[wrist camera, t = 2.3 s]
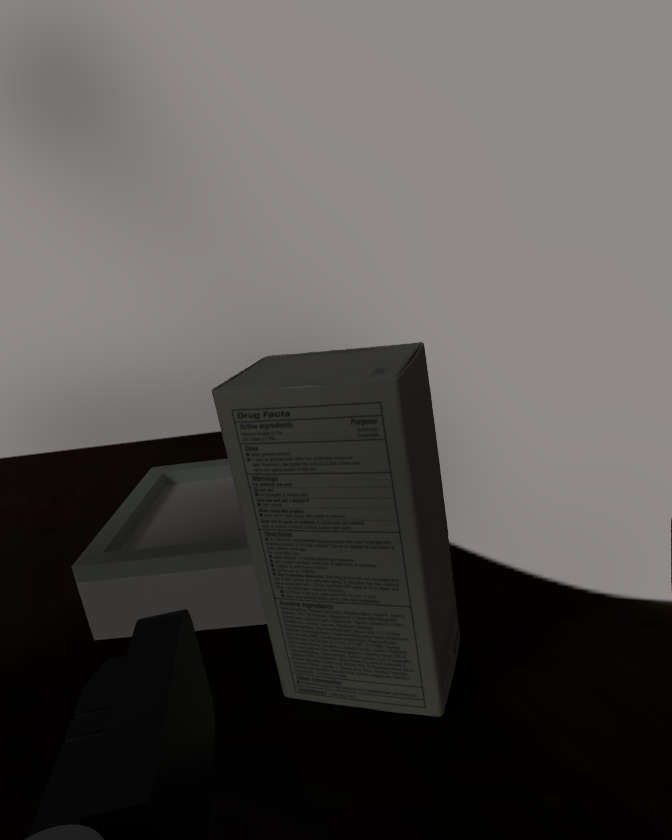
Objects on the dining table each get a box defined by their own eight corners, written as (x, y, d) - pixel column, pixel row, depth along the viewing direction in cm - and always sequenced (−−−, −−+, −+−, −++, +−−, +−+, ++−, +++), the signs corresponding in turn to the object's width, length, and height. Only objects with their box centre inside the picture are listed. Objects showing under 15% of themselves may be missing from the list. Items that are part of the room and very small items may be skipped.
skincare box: (462, 641, 25) (434, 339, 22) (443, 727, 21) (404, 376, 18) (315, 626, 27) (266, 351, 24) (273, 702, 24) (206, 386, 20)
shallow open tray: (94, 640, 29) (71, 567, 28) (166, 524, 39) (151, 467, 38) (336, 617, 28) (323, 540, 27) (343, 505, 38) (334, 446, 37)
